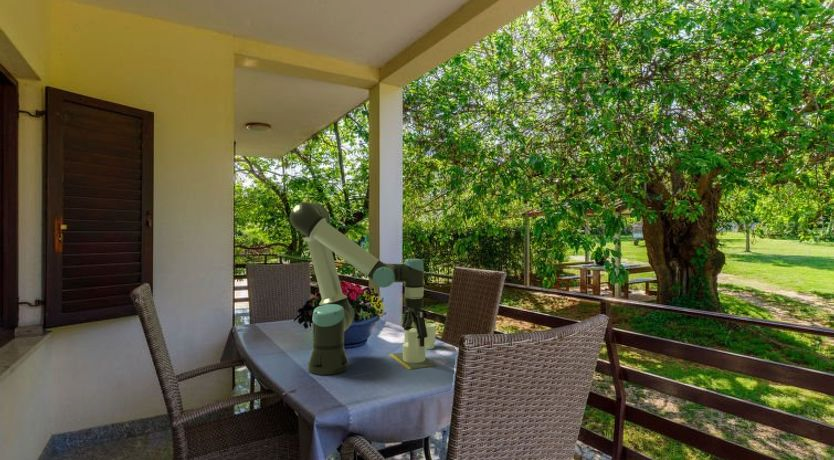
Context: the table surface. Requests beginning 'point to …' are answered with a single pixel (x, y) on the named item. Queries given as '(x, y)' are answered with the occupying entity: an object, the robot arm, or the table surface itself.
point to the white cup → (430, 336)
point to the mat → (408, 365)
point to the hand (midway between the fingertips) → (414, 350)
